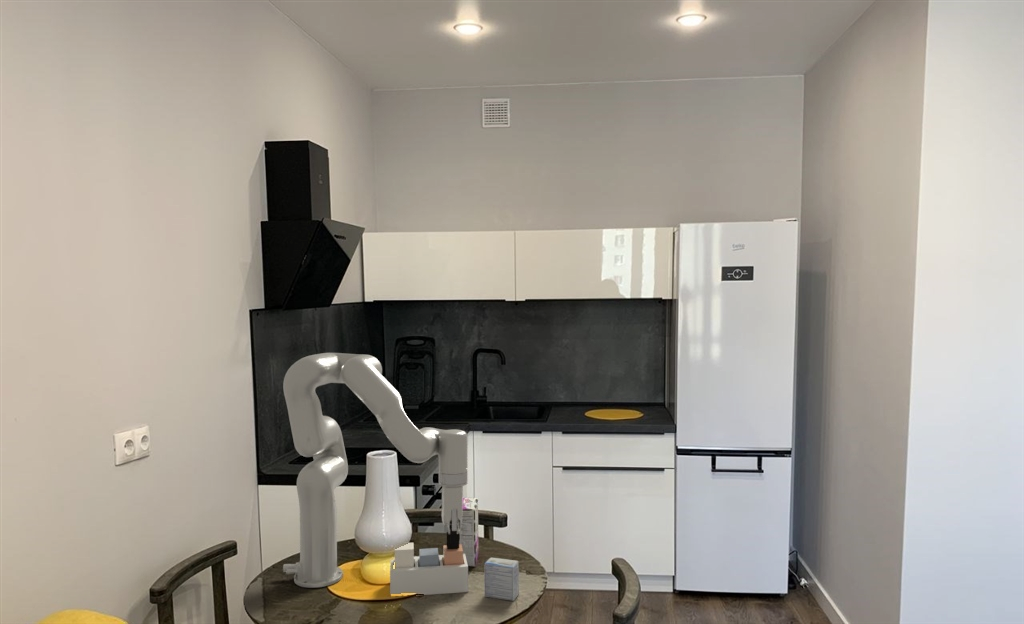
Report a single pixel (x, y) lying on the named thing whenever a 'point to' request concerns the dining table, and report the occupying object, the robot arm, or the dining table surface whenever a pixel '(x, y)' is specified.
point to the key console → (429, 578)
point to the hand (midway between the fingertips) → (452, 547)
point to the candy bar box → (469, 530)
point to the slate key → (428, 557)
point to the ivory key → (404, 556)
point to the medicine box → (501, 578)
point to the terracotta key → (452, 556)
